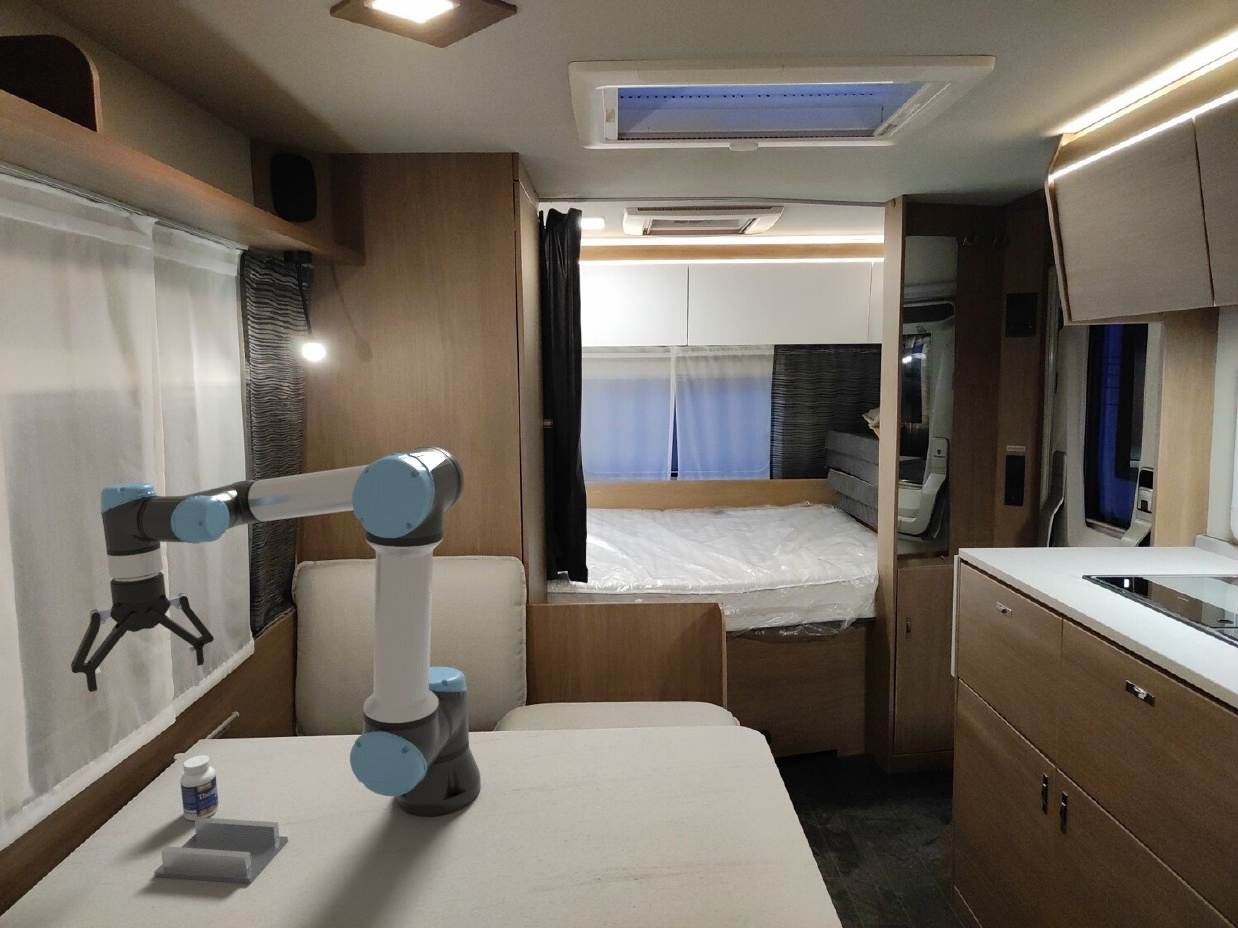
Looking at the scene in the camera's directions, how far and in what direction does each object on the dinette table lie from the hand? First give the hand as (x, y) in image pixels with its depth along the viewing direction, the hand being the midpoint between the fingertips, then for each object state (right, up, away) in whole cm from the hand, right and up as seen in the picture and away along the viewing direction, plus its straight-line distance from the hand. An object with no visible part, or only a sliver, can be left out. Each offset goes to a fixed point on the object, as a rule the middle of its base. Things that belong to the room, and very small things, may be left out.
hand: (150, 695), depth 124 cm
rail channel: (+17, -24, -8) cm, 30 cm away
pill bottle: (+6, -22, +4) cm, 24 cm away
